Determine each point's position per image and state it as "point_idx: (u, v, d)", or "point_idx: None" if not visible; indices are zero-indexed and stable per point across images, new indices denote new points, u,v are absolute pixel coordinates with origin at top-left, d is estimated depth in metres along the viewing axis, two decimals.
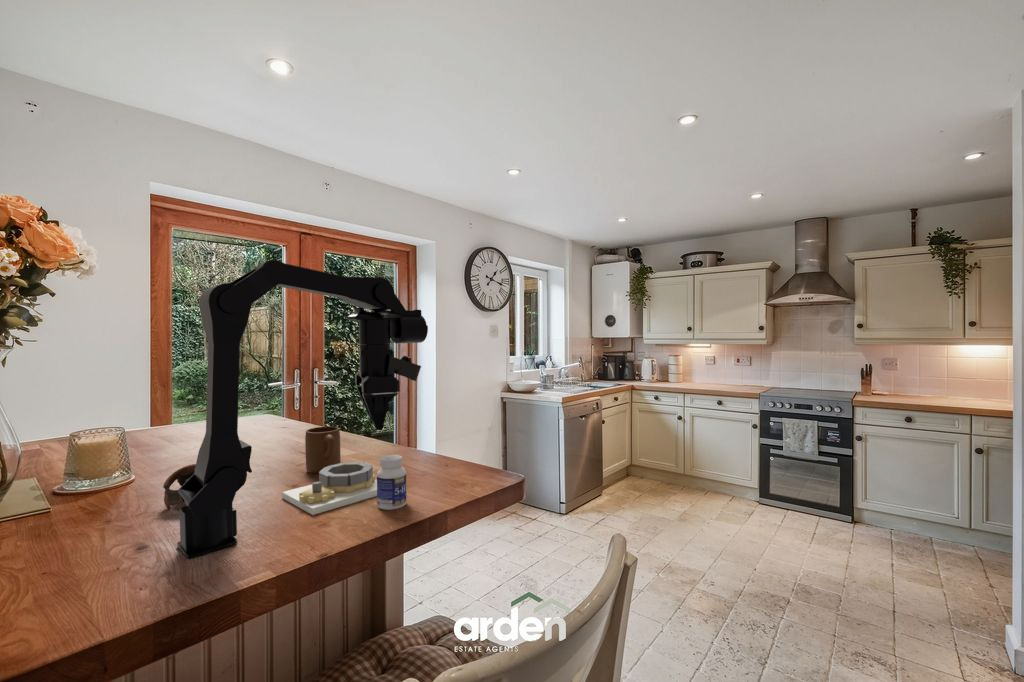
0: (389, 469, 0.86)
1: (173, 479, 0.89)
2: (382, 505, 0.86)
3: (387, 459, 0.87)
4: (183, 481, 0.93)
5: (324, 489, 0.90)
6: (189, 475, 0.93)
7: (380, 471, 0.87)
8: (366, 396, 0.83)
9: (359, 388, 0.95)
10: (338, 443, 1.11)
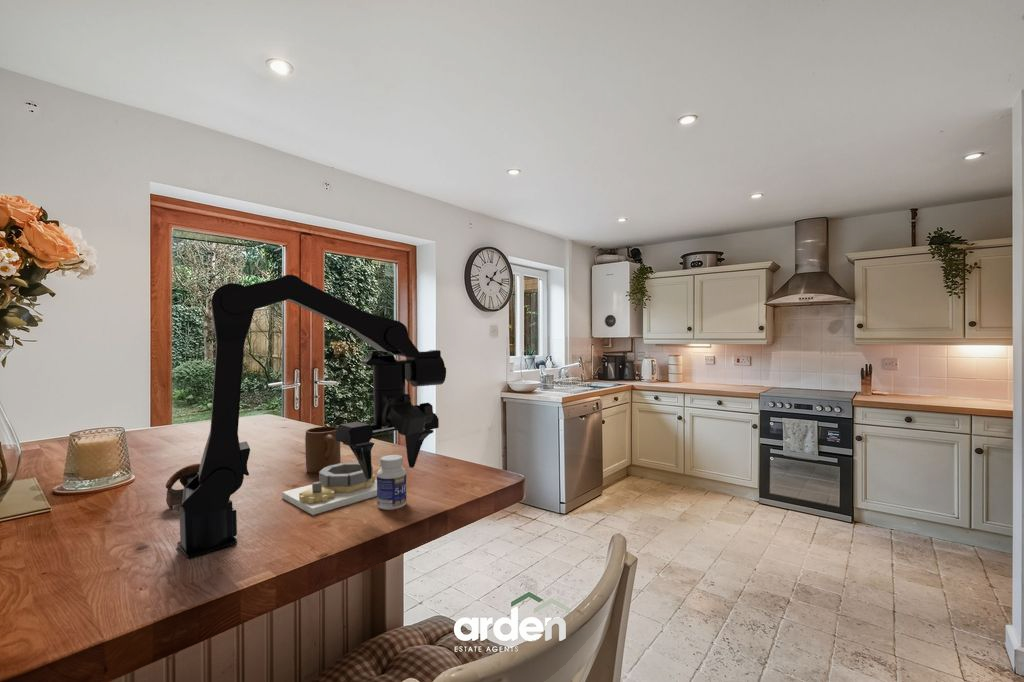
0: (389, 469, 0.86)
1: (175, 478, 0.90)
2: (382, 505, 0.86)
3: (387, 459, 0.87)
4: (185, 481, 0.93)
5: (324, 489, 0.90)
6: (191, 475, 0.93)
7: (380, 471, 0.87)
8: (343, 442, 0.84)
9: None
10: (338, 443, 1.11)
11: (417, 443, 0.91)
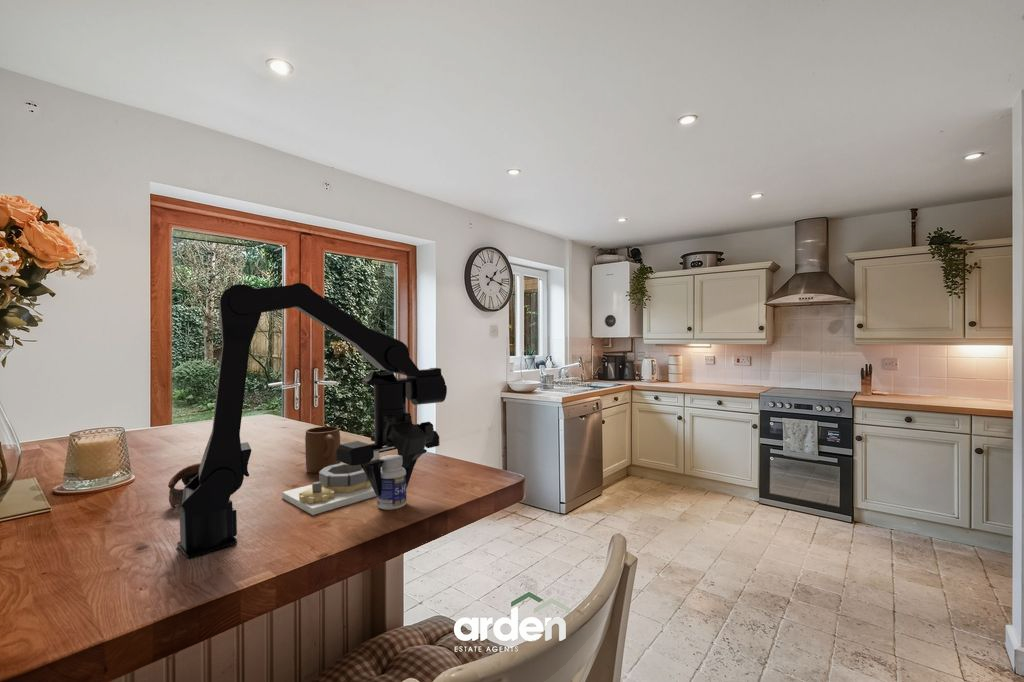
0: (389, 469, 0.86)
1: (178, 478, 0.90)
2: (382, 505, 0.86)
3: (387, 459, 0.87)
4: (187, 480, 0.93)
5: (324, 489, 0.90)
6: (193, 474, 0.93)
7: None
8: None
9: None
10: (338, 443, 1.11)
11: (410, 463, 0.90)
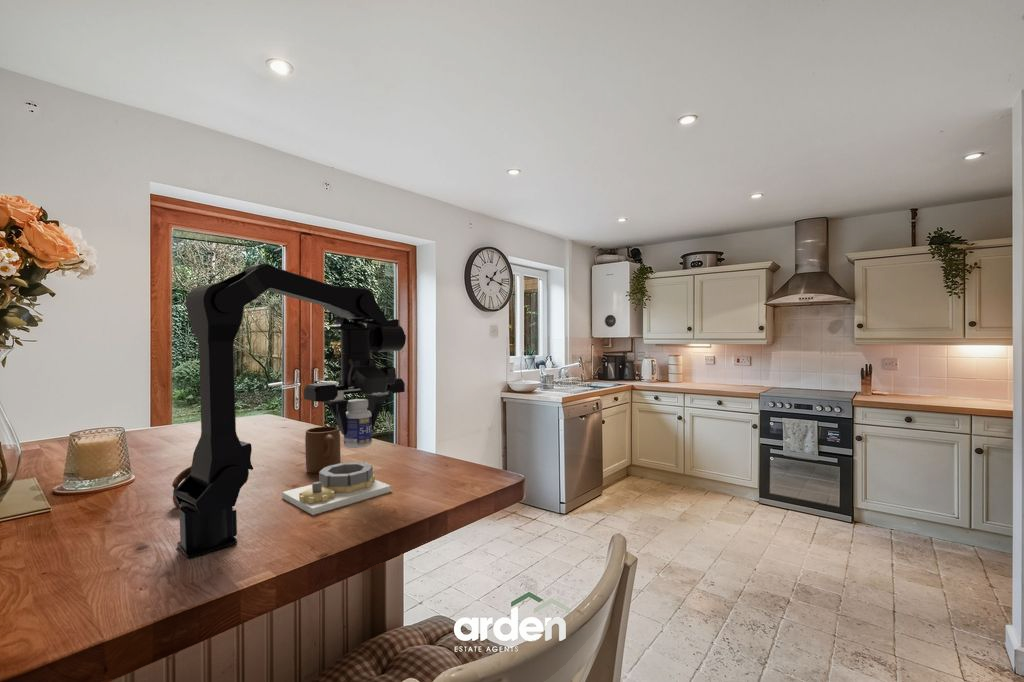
0: (355, 410, 0.92)
1: (181, 477, 0.90)
2: (347, 444, 0.92)
3: (353, 401, 0.93)
4: None
5: (324, 489, 0.90)
6: None
7: (346, 412, 0.93)
8: (320, 400, 0.91)
9: (366, 395, 0.98)
10: (338, 443, 1.11)
11: (375, 407, 0.95)
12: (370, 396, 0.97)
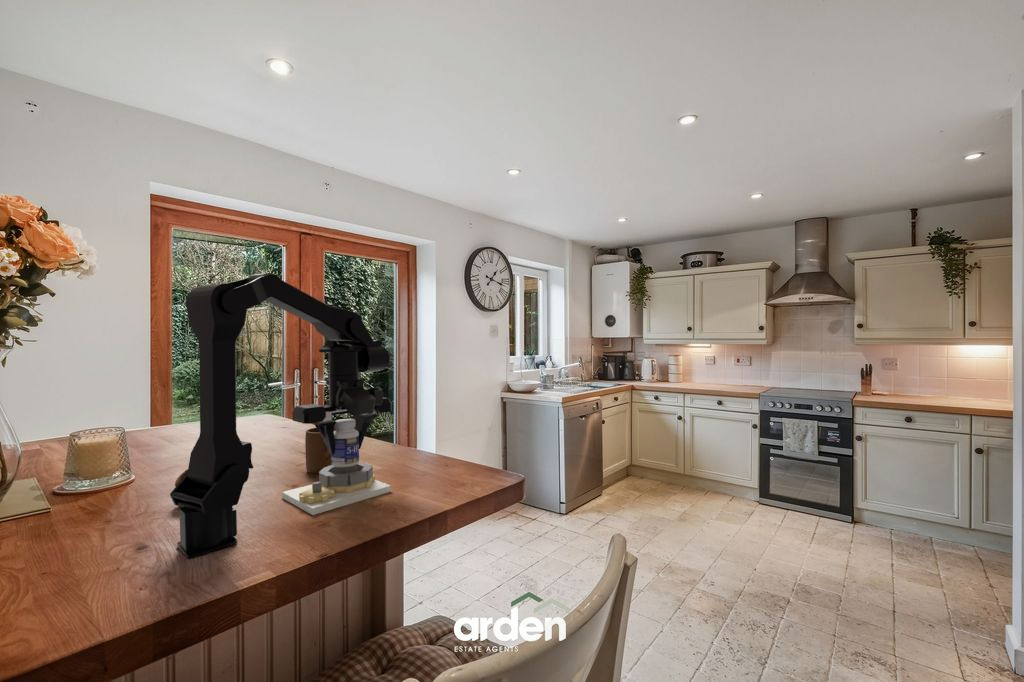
0: (342, 430, 0.95)
1: None
2: (335, 463, 0.94)
3: (340, 421, 0.95)
4: None
5: (324, 489, 0.90)
6: None
7: (334, 432, 0.95)
8: None
9: None
10: None
11: (363, 426, 0.98)
12: (357, 416, 0.99)
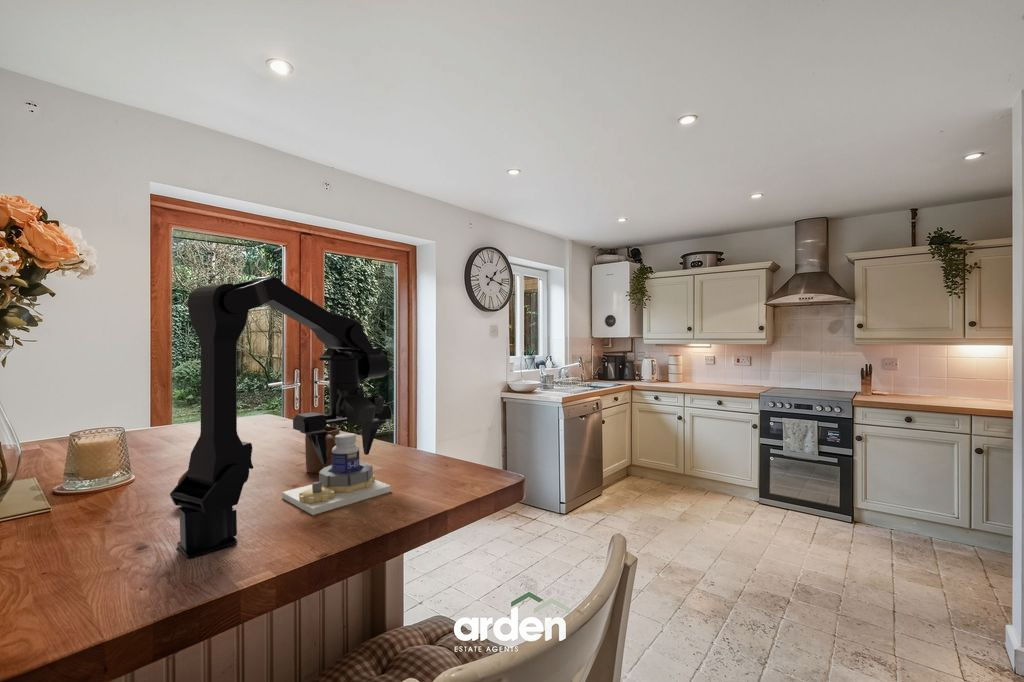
0: (343, 445, 0.95)
1: None
2: None
3: (341, 436, 0.95)
4: None
5: (324, 489, 0.90)
6: None
7: (334, 447, 0.95)
8: (300, 431, 0.92)
9: None
10: None
11: (371, 432, 0.99)
12: (365, 422, 1.01)
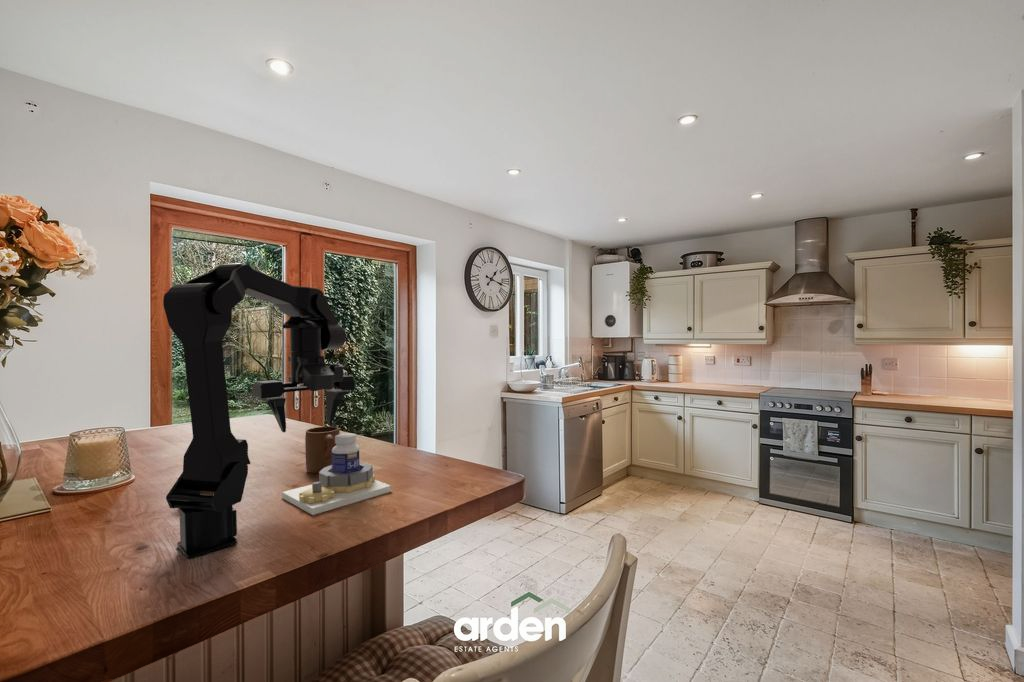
0: (343, 445, 0.95)
1: None
2: None
3: (341, 436, 0.95)
4: None
5: (324, 489, 0.90)
6: None
7: (334, 447, 0.95)
8: None
9: (325, 392, 1.02)
10: None
11: (334, 402, 0.99)
12: (329, 392, 1.00)
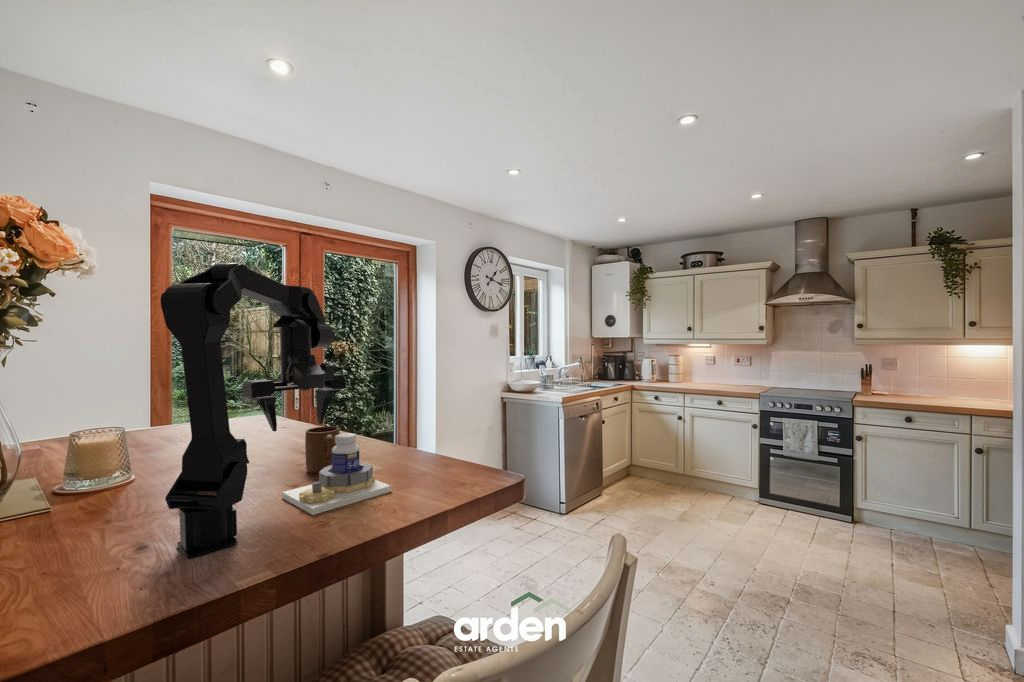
0: (343, 445, 0.95)
1: None
2: None
3: (341, 436, 0.95)
4: None
5: (324, 489, 0.90)
6: None
7: (334, 447, 0.95)
8: (250, 397, 0.92)
9: (316, 390, 1.02)
10: None
11: (324, 401, 0.99)
12: (320, 391, 1.01)
